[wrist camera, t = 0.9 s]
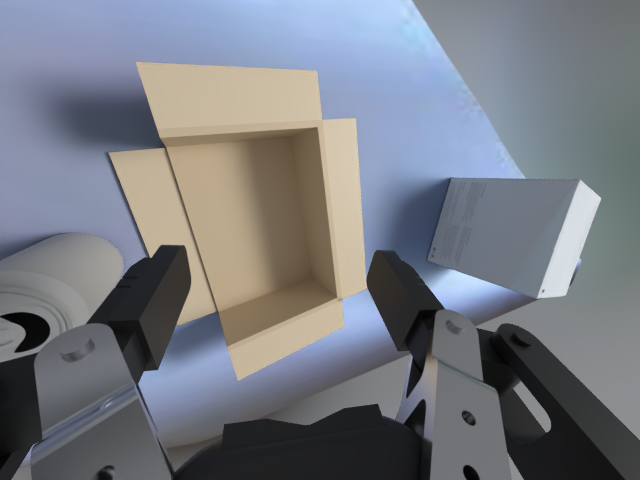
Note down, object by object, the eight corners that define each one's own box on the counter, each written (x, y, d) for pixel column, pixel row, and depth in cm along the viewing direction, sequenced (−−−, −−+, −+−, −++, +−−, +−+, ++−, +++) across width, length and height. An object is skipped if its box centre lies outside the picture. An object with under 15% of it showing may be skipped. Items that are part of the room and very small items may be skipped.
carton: (189, 355, 29) (190, 405, 23) (86, 94, 20) (40, 56, 13) (338, 291, 38) (368, 314, 32) (316, 94, 29) (353, 72, 23)
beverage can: (131, 287, 24) (95, 366, 14) (43, 302, 21) (-81, 416, 11) (118, 227, 23) (65, 269, 13) (20, 235, 20) (-151, 298, 10)
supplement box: (460, 264, 55) (565, 298, 40) (424, 261, 48) (536, 301, 33) (483, 190, 52) (605, 196, 37) (449, 175, 46) (582, 176, 30)
